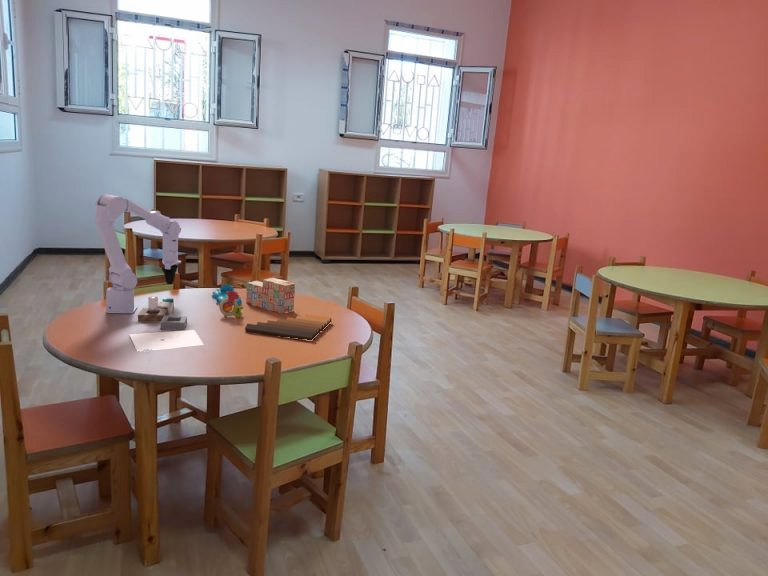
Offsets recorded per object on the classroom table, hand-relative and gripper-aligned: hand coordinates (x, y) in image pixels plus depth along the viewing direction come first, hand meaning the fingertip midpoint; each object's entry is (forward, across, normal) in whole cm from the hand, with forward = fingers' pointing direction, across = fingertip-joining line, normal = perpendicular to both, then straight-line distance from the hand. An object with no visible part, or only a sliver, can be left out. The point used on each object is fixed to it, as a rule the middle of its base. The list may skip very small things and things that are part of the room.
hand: (170, 283), depth 232 cm
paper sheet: (+9, -53, -7) cm, 54 cm away
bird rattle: (+9, -18, -25) cm, 32 cm away
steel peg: (+8, -22, +3) cm, 24 cm away
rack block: (+8, -31, -6) cm, 32 cm away
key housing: (+8, -14, 0) cm, 16 cm away
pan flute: (+9, -31, -47) cm, 57 cm away
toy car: (+9, +7, -22) cm, 25 cm away
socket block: (+8, -22, +3) cm, 24 cm away
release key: (+8, -9, 0) cm, 12 cm away
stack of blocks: (+9, -3, -40) cm, 41 cm away
